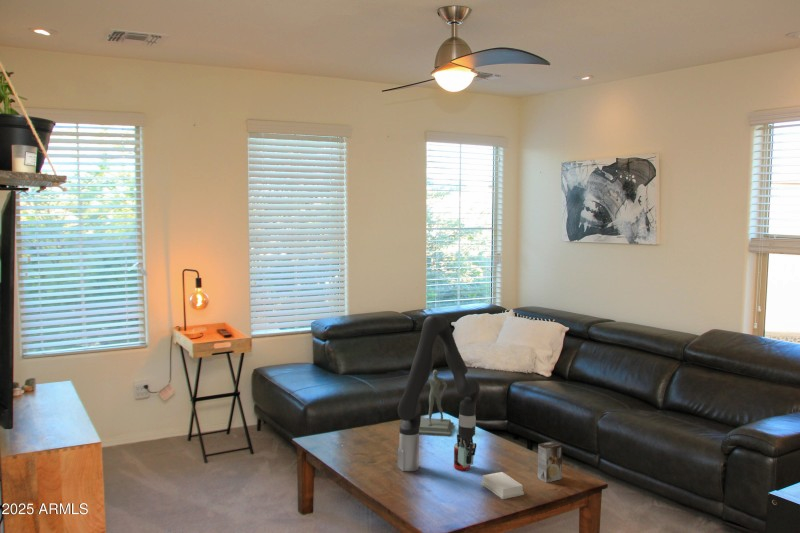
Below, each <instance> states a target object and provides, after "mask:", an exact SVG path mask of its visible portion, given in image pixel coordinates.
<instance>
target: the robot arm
mask: <svg viewBox="0 0 800 533" xmlns="http://www.w3.org/2000/svg"><path fill="white" fill-rule="evenodd" d="M437 336H438V337H439V339H440V340H441V342H442V344H443V347H444V348H443V349H444V354H445V355H444V356H445V360H446V363H447V365H448V368H449V370H450V371H451V374H452V376H453V381H454V385H455V389H456V392H457V393H458V394H459V395H460V397H463V399H462V400H461V401H460V403H459V415H458V425H457V426H458V427H457V428H458V431H457V433H458V434H456V443H457V446H458V447H465V450H466V454H467V456H466V463H467V464H471V458H472V456H474V457H475V455H476V450H477V443H476V442H474V439H473V437H474V436H475V435H476V425H477V424H476V422H477V419H476V408H477V407H476V405H477V403H478V400H479V399H478V398H479V396H480V389H481V388H480V383H479V381H478V380H477V379H476V378H468V379H466V375H467V374H468V371H469V370H468V367H467V365H466V363H465V361H464V359H463V357H462V356H461V353H460V350H459V349H458V345H457V344H456V340H455V337H454V335H453V332H452V328H451V325H450V323H449V320H448V318H446V316H444V315H441V314H434V315H429V316H427V317H426V318H425V319H424V321H423V324H422V327H421V333H420V338H419V342H418V346H417V349H416V352H415V356H414V358H413V361H412V364H411V368H410V371H409V374H408V378H407V382H406V386H405V389H404V392H403V395H402V397H401V399H400V401H399V404H398V406H397V414H398V417H399V418H400V420H401V422H400V424H399V432H398V433H399V434H398V435H399V438H398V439H399V445H398V447H397V468H398V469H399V470H401V471H402V472H414V471H417V470H419V468H420V434H419V427H420V422H421V420H422V418H421V417H422V416H421V415H422V406H421V403H420V399H419V398H420V397H421V396H420V395H421V394H422V391H423V390H424V388H425V386H426V385H427V383H428V379H429V377H431V372H432V370H433V366H434V356H433V355H434V354H433V349H434V348H433V347H434V345H435V342H436V339H437ZM459 443H460V444H459ZM467 447H470V448H467ZM468 450H469V452H468ZM472 451H473V453H472Z"/></svg>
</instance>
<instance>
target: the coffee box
mask: <svg viewBox="0 0 800 533" xmlns="http://www.w3.org/2000/svg"><path fill="white" fill-rule="evenodd" d="M562 476H563V444H561V443H559V442H556V441H554V440H551V441H547V442H543V443H538V444H537V478H538V479H539V480H540V481H542V482H545V483H550V482H554V481H558V480H562V478H563V477H562Z"/></svg>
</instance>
